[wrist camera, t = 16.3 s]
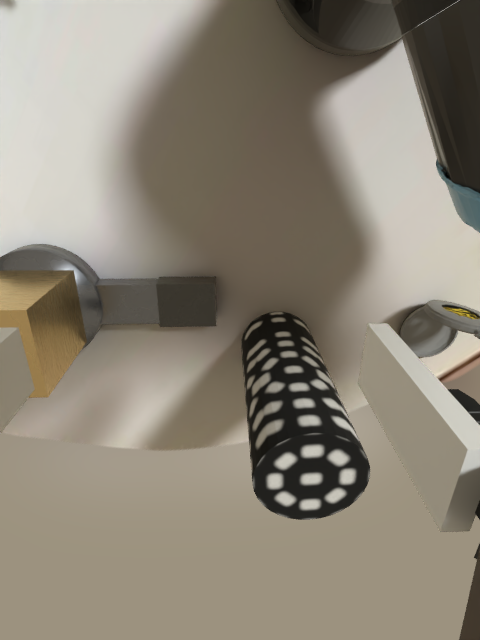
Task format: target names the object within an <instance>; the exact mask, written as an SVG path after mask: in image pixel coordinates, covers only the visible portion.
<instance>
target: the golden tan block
mask: <svg viewBox="0 0 480 640" xmlns="http://www.w3.org/2000/svg"><path fill="white" fill-rule="evenodd" d="M8 327H19V331H20V335H21V339H22V343H23V346H24V350H25V354H26V358H27V362H28V365H29V369H30V373H31V377H32V380H33V384H34V388H35V390H34V391H33V392H32V393H31V395H30V396H29V397H28V398H35V397H49V395H50V394H51V392H52V391H53V389H54V388H55V386H56V385H57V384H58V382H59V381H60V379H61V378H62V376H63V375H64V374H65V372H66V371H67V369H68V368H69V366H70V365H71V364H72V362H73V361H74V359H75V358H76V356H77V355H78V353H79V352H80V351H81V349H82V348H83V346H84V345H85V343H86V342H87V339H86V334H85V329H84V323H83V318H82V312H81V307H80V301H79V296H78V290H77V285H76V280H75V274H74V270H14V271H0V328H8Z"/></svg>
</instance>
